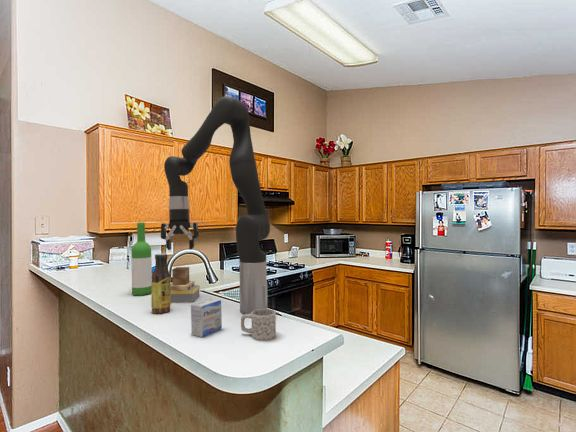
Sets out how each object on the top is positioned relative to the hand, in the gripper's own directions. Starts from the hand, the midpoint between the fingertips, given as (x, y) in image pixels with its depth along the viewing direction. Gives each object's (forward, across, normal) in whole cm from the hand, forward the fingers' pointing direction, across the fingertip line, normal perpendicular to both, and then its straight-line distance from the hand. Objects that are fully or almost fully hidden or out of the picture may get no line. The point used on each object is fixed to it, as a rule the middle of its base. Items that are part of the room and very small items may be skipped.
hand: (180, 249), depth 134 cm
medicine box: (+20, -19, +36) cm, 45 cm away
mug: (+21, -34, +39) cm, 56 cm away
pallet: (+15, 0, 0) cm, 15 cm away
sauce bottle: (+20, +2, +16) cm, 26 cm away
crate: (+13, 0, 0) cm, 13 cm away
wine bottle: (+20, +20, -9) cm, 29 cm away
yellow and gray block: (+20, 0, 0) cm, 20 cm away
